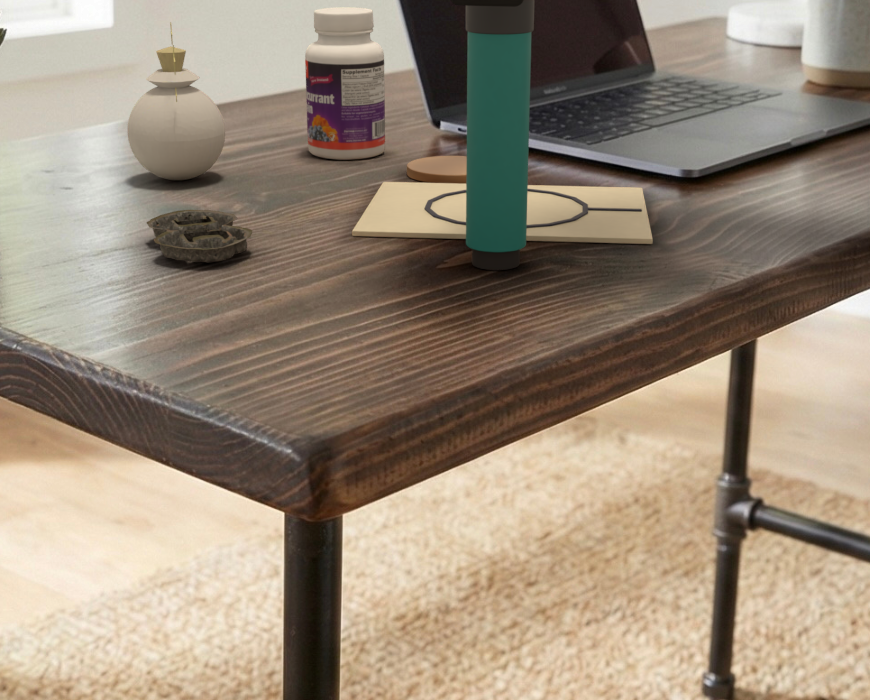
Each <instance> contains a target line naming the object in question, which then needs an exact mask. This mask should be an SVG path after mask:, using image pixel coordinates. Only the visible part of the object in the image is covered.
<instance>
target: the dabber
mask: <svg viewBox="0 0 870 700" xmlns="http://www.w3.org/2000/svg"><path fill="white" fill-rule="evenodd" d="M534 23H535V0H524V1H523V2H522V4H521V5H519V6H516V7H508V6H465V31H466V32H467V51H466V53H467V56H466V57H467V61H466V62H467V63H466V64H467V65H466V66H467V69H466V77H467V78H466V156H467V168H466V239H465V245H466V247H468V249H471V265H472V266H473V267H475V268H477V269H481V270H486V271H507V270H512V269H516V268H517V267H519V266H520V263H521V250H522V249H524V248H525V247H526V246H527V241H526V231H527V191H528V185H529V183H528V181H529V149H530V146H529V145H530V143H529V142H530V106H531V104H530V103H531V72H532V71H531V69H532V68H531V65H532V64H531V63H532V32H533V31H534V30H535V24H534Z"/></svg>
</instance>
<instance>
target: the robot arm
mask: <svg viewBox="0 0 870 700" xmlns="http://www.w3.org/2000/svg"><path fill="white" fill-rule="evenodd" d="M523 1H524V0H450V2H451V3H452V4H454V5H456V6H465V7H466V6H508V7H516V6H519V5H521V4H522V2H523Z"/></svg>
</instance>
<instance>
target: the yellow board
mask: <svg viewBox="0 0 870 700" xmlns="http://www.w3.org/2000/svg"><path fill="white" fill-rule="evenodd" d="M648 215H649V213H648V209H647V206H646V200H645V195H644V190H643V187H632V186H631V187H628V186H627V187H626V186H624V187H623V186H590V185H589V186H588V185H587V186H586V185H585V186H584V185H580V186H579V185H546V184H545V185H540V184H539V185H538V184H537V185H536V184H528V191H527V231H526V242H557V243H559V242H560V243H590V244H591V243H593V244H595V243H597V244H630V245H631V244H632V245H653V241H654V240H653V233H652V229H651V223H650V220H649V216H648ZM351 235H352V237H378V238H408V239H411V238H412V239H444V240H445V239H449V240H450V239H452V240H466V184H459V183H429V182H413V181H409V182H408V181H407V182H406V181H383V182H382V183H381V184H380V187H379V188H378V190H377V191H376V193H375V194H374V195H373V198H372V199H371V201H370V202H369V204H368V205H367V207H366V209H365V210H364V211H363V213H362V215H361V216H360V218H359V220H358V221H357V223H356V224H355V226H354V227H353V229H352V231H351Z"/></svg>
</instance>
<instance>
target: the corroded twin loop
mask: <svg viewBox="0 0 870 700" xmlns="http://www.w3.org/2000/svg"><path fill="white" fill-rule="evenodd" d="M237 220H238V217H237V216H236V214H234V213H228V212H224V211H220V210H213V209H181V210H174V211H172V212H166V213H163V214H160V215H157V216H155V217H153V218H150V219H149V220H148V221H146V224H147V226H148V227H149V228H150V229H152V231H153V235H154V237H155V238H153V241H154V243H155V244H158V245H159V246H160V251H161V253H162V255H163V256H164V258H167V259H173V260H175V261H184V262H189V263H194V262H195V263H198V262H199V263H201V262H202V263H214V262H215V263H216V262H222V261H223V260H227V259H230V258H233V256H234V255H235V254H240V253H243V252H245V251H247V249H248V240H247V239H249V238H251V236H252V234H253V230H252V229H250V228H248V227H244V226H243V227H242V226H236V225H233V224H234V222H235V221H237Z"/></svg>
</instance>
